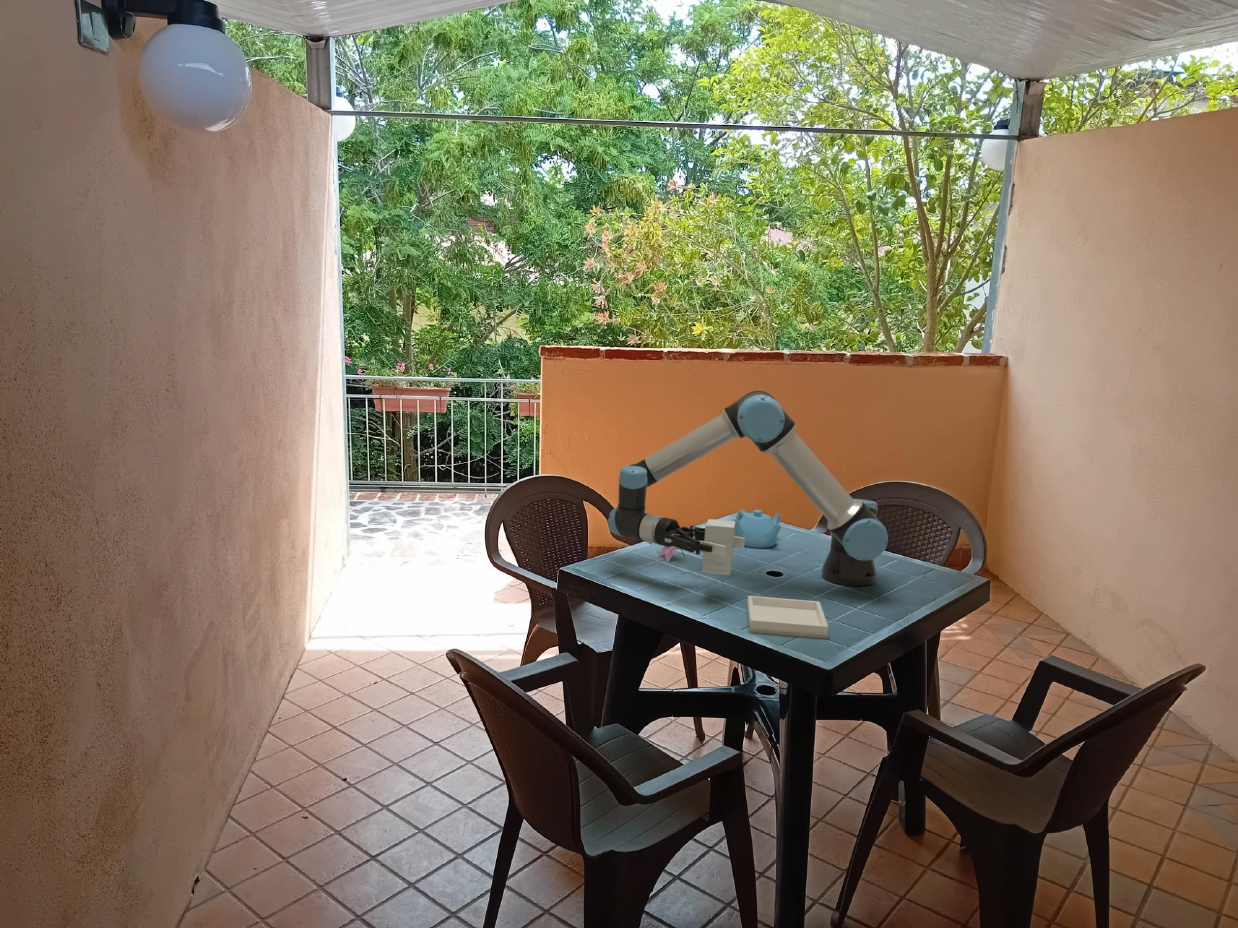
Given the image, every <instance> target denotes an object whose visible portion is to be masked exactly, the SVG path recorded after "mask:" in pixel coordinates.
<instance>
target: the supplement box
mask: <svg viewBox="0 0 1238 928" xmlns="http://www.w3.org/2000/svg"><path fill="white" fill-rule="evenodd" d="M706 521H707V522H706V523H705V527H704V528H705V539H704V541H706V542H711V543H715V544H720V545H724V546H726V551H725V557H722V556H718V555H713V554H709V553H705V552H702V553H703V556H702V557H703V559H702V568H701V572H702V573H704V574H706V573H707V574H714V575H723V576H730V575H731V570H732V569H733V562H734V561H733V559H734V548H735V547H734V536H735V521H732V520H724V519H723V520H722V519H712V518H709V519H707V520H706Z"/></svg>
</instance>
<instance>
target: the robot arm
mask: <svg viewBox="0 0 1238 928" xmlns="http://www.w3.org/2000/svg"><path fill="white" fill-rule="evenodd" d="M796 427H797V426H796V423H795V421H794V420H793V419H792V418H791V416H790V415H789V414H788V413H787V412H786V411H785V410H784V409H783V408H782V406H781V404H780V403H779V402H778V401H777V399H776V398H775V397H774V396H773V395H772V394H770V393H768V392H766V391H763V390H753V391H750V392H748V393H746V394H744V395H743V396H741V397H740V398H738V399H737V400H735V402H733V403H731V404H730V405H728V406H726V407H725V408H723V409H722V412H721V414H720V415H717V416H716V417H715V418H713V419H711V420H710V421H708V422H706V423H704V424H702V425H700V426H699V427H697V428H696V429H694V430H692V431H690V432H689V433H687V434H686V435H683V436H682V437H679V438H677V439H676V440H675V441H673V442H671V443H669V444H668V445H666V446H664V447H663V448H661V449H658V450H657V451H656V452H654V453H651V454H650V455H649V456H647V457H645V458H643V459H642V460H640V461H638V462H637V463H632V464H630V465H625V466H623V467H621V468H620V470H619V476H618V503H617V507H614V508H613V509H612V510H611V511H610V512H609V518H607V527H608V529H609V531H610V532H611V534H614V535H616V536H620V537H623V538H628V539H633V540H636V541H637V540H638V541H642V542H645V543H648V544H649V545H651V546H652V545H653V544H654V545H658V546H662V547H664V546H666V547H671V546H674V547H677V548H680V549H682V551H686V552H688V553H691V554H692V553H695V555H698V556H699V555H701V552H702V553H704V552H705V553H709V554H713V555H718V556H722V557H725V551H726V546H724V545H720V544H715V543H711V542H706V541H704V539H705V527H699V526H694V525H690V526H680V524H679V521H677V520H676V519H674V518H669V517H663V516H661V515H655V514H650V513H646V498H647V489H648V488H649V487H651V486H653V485H654V484H656V483H657V482H659V481H661V480H662V479H664V478H667V477H668V476H670V475H671V474H674V473H676V472H677V471H680V469H682V468H684V467H686V466H688V465H690V464H691V463H693V462H695V461H697V460H698V459H701V458H702V457H704V456H705V455H707V454H709V453H710V452H712V451H715V450H717V448H720V447H722V446H723V445H726V444H727V443H729V442H730V441H732V440H734V439H739V440H741V439H743V438H744V437H746V438H748V439H749V440H750V441H751V442H752V443H753V444H754V445H755V446H756V447H757V449H759V452H761V453H762V454H763V453H764V454H770V455H771V456H772V457H773V459H775V461H776V462H777V463H778V464H779V465H780V466H781V468H783V470H784V471H785V472H786V473H787V474H788V476H789V477H790V478H791V479H792V480H793V482H794V483H796V485H797V486H798V487H799V488H800V490H802V492H803V493H804V494H805V495H806V497H808V499H809V500H810V501H811V502H812V503H813V504H814V506H816V508H817V509H818V511H820V512H821V513H822V515H823V516H824V517H825V519H827V525H826V526H827V529H828V530H829V532H830V533H831V540H830V549H829V552H828V554H827V556H826V558H825V560H824V563H823V565H822V568H821V577H822V578H823V579H824V580H826V581H829V582H832V583H835V584H839V585H843V586H848V587H849V586H850V587H851V586H852V587H866V586H865V585H868V586H872V585H874V584H876V582H877V571H876V566H875V561H874V560H875V559H876V558H878V557H879V556H881V555H882V554H883V553H884V552H885V550H886V548H887V547H888V542H889V534H888V530H887V528H886V526H885V524H883V523H882V522H881V521H880V520H879V518H878V517H877V516H878V511H879V510H878V502H876V501H874V500H867V499H861V498H859V499H858V498H853V497H852V496H851V495H850V494H849V493H848V491H847V490H846V489H845V488H844V487H843V486H842V485H841V483H840V482H839V481H838V480H837V479H836V477H835V476H833V474H832V473H831V472H830V471H829V469H828V468H826V466H825V465H824V464H823V463H822V462H821V460H820V459H819V458H818V457H817V455H815V453H814V452H813V451H812V450H811V449H810V448H809V446H808V445H807V444H806V443H805V442H804V441H803V439H802V438H801V437H800V436H799V435H798V434H797V432H796ZM688 527H689V528H688ZM744 543H745V538H742V537H738V536H734V548H738V549H742V550H744V549H745V546H744ZM871 584H872V585H871Z"/></svg>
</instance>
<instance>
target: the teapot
mask: <svg viewBox="0 0 1238 928" xmlns="http://www.w3.org/2000/svg"><path fill="white" fill-rule="evenodd" d="M752 511H753V512H747V511H745V510H744V509H739V510H738V511H737V514H736V518H735V519H732V520H731V521H735V536H738V537H742V538H745V543H744V547H746V546H747V547H746V548H752V549H768V548H771V547H773V546H775V544H777V542H778V540H779V539H778V537H779V536H778V534H779V532H780V531H781V528H782V525H780V522H781V517H782V515H781V514H779V513H777V514H774V516H773V517H771V516H770V515H768V514H765V513H763V511H762V510H761V509H754V510H752Z"/></svg>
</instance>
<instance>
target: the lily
mask: <svg viewBox="0 0 1238 928" xmlns="http://www.w3.org/2000/svg"><path fill="white" fill-rule="evenodd" d="M687 527H688V528H690V526H687ZM675 551H681V553H682V555H683V557H685V554H684V550H682V549H680V548H677V547H674V546H671V547H666V546H662V548H661V550H660V551H659V553H658V557H661V556H662V555H664V557H665V560H666V563H669V562H670V561H671V558H672V556H673V555H674V553H675Z"/></svg>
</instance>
